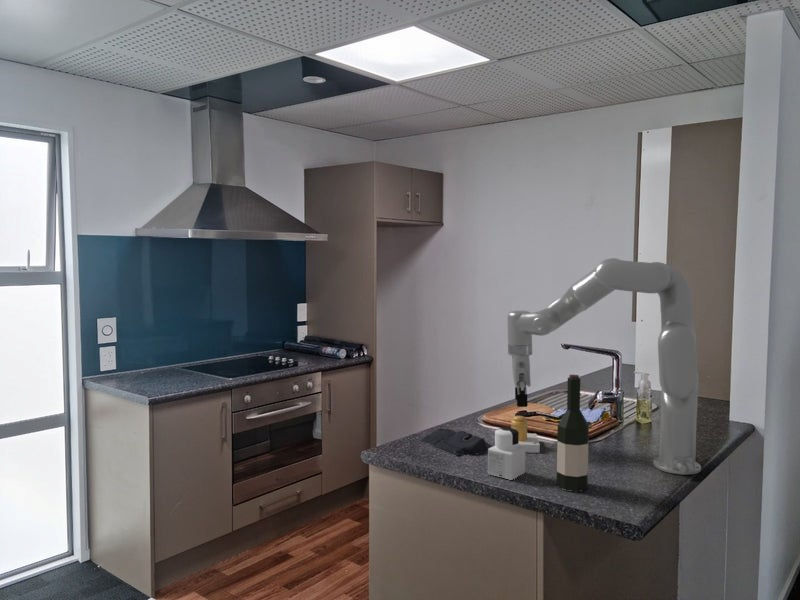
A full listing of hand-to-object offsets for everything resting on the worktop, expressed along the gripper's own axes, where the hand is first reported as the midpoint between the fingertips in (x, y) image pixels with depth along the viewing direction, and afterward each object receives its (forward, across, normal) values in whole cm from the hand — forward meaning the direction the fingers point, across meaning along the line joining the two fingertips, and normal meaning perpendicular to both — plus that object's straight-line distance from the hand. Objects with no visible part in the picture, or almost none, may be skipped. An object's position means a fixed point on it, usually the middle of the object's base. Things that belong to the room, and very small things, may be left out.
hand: (521, 402), depth 199 cm
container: (+15, -26, +6) cm, 30 cm away
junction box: (+14, +4, +1) cm, 15 cm away
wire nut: (+12, 0, +1) cm, 12 cm away
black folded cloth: (+14, 0, +21) cm, 26 cm away
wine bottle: (+15, -33, -11) cm, 38 cm away
